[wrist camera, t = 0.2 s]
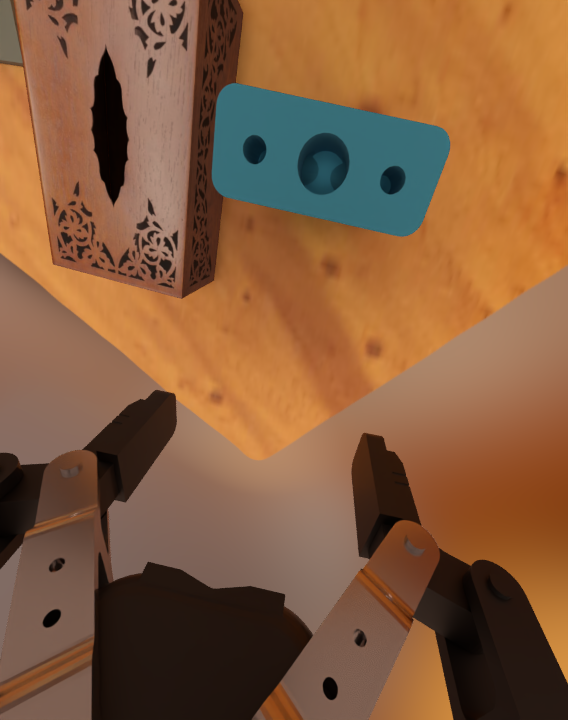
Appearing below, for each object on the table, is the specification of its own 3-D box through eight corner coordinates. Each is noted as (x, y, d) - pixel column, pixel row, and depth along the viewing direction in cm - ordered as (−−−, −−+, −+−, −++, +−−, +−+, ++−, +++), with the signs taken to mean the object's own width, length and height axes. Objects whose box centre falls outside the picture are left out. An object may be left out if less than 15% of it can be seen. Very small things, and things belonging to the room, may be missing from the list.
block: (270, 204, 34) (210, 193, 17) (278, 154, 32) (217, 79, 14) (369, 226, 34) (415, 240, 16) (384, 177, 32) (457, 130, 14)
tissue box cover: (214, 280, 40) (181, 298, 31) (114, 253, 40) (52, 264, 31) (243, 14, 28) (204, -80, 19) (100, -21, 28) (-7, -132, 19)
